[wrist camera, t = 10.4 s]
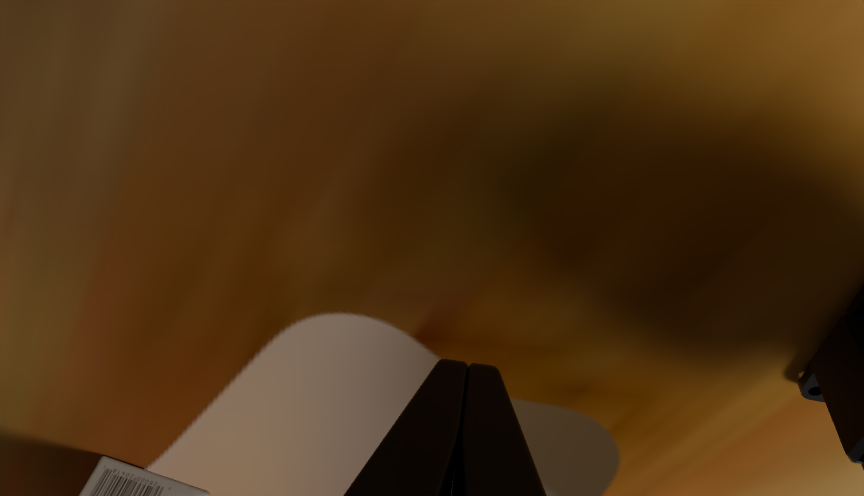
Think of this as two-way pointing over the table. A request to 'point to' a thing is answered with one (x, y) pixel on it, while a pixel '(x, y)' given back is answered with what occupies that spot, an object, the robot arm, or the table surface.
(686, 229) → the table surface
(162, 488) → the coffee box
